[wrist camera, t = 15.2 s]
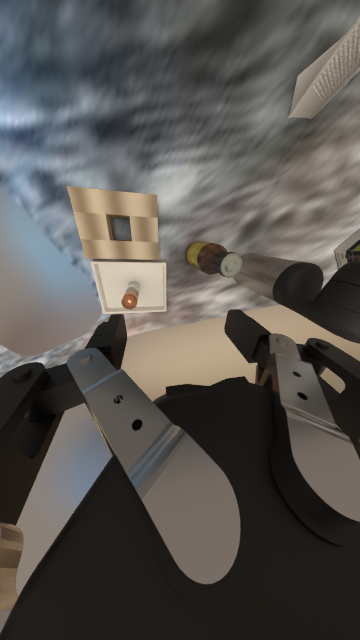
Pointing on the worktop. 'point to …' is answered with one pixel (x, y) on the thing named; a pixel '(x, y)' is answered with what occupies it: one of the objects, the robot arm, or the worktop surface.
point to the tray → (116, 279)
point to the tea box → (348, 250)
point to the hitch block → (97, 223)
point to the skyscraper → (327, 75)
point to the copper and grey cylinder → (131, 295)
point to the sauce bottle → (213, 259)
